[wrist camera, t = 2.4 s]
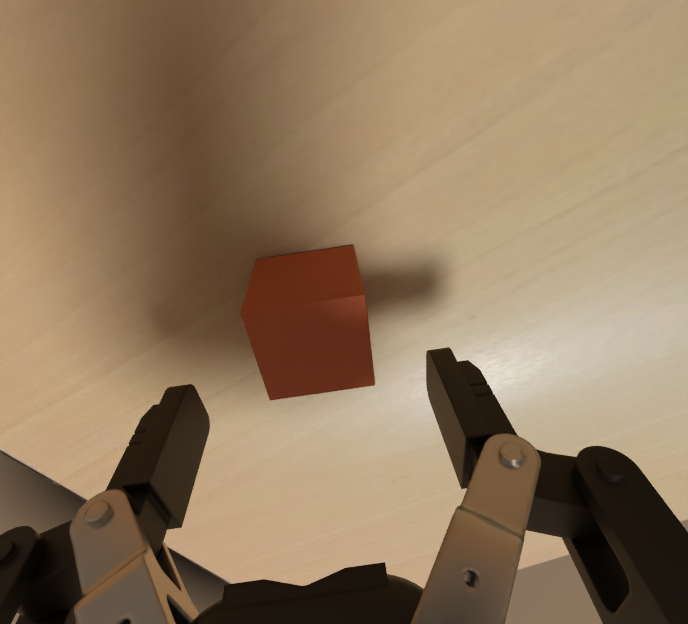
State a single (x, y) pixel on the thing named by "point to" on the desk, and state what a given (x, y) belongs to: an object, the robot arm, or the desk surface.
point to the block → (309, 323)
